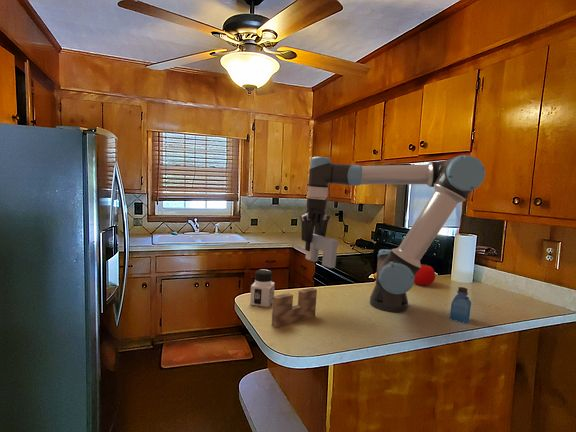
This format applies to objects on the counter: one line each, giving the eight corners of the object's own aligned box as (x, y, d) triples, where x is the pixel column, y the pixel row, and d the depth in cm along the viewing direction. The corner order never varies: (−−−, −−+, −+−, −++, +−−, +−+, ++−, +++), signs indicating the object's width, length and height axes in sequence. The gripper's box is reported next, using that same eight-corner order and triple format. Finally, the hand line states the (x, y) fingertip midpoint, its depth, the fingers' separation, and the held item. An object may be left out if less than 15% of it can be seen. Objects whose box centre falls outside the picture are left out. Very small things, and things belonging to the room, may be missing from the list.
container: (269, 307, 129) (270, 274, 127) (249, 304, 130) (251, 272, 129) (273, 300, 136) (275, 269, 135) (255, 298, 138) (257, 267, 136)
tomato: (432, 289, 163) (434, 268, 162) (406, 284, 169) (408, 263, 168) (436, 284, 172) (438, 264, 171) (411, 279, 179) (413, 260, 178)
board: (310, 313, 125) (312, 287, 124) (315, 316, 123) (316, 289, 122) (271, 325, 113) (273, 296, 112) (275, 327, 112) (277, 298, 110)
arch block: (305, 258, 131) (307, 233, 130) (310, 258, 133) (312, 233, 131) (330, 268, 120) (333, 240, 119) (335, 267, 121) (337, 240, 120)
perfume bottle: (468, 323, 124) (471, 292, 122) (449, 319, 127) (453, 288, 126) (469, 318, 129) (472, 288, 128) (451, 314, 132) (454, 284, 131)
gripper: (325, 197, 135) (319, 255, 138) (294, 196, 126) (289, 258, 128) (338, 199, 129) (332, 259, 132) (307, 198, 120) (302, 262, 122)
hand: (311, 258), depth 130 cm, fingers closed on arch block, 2 cm apart
